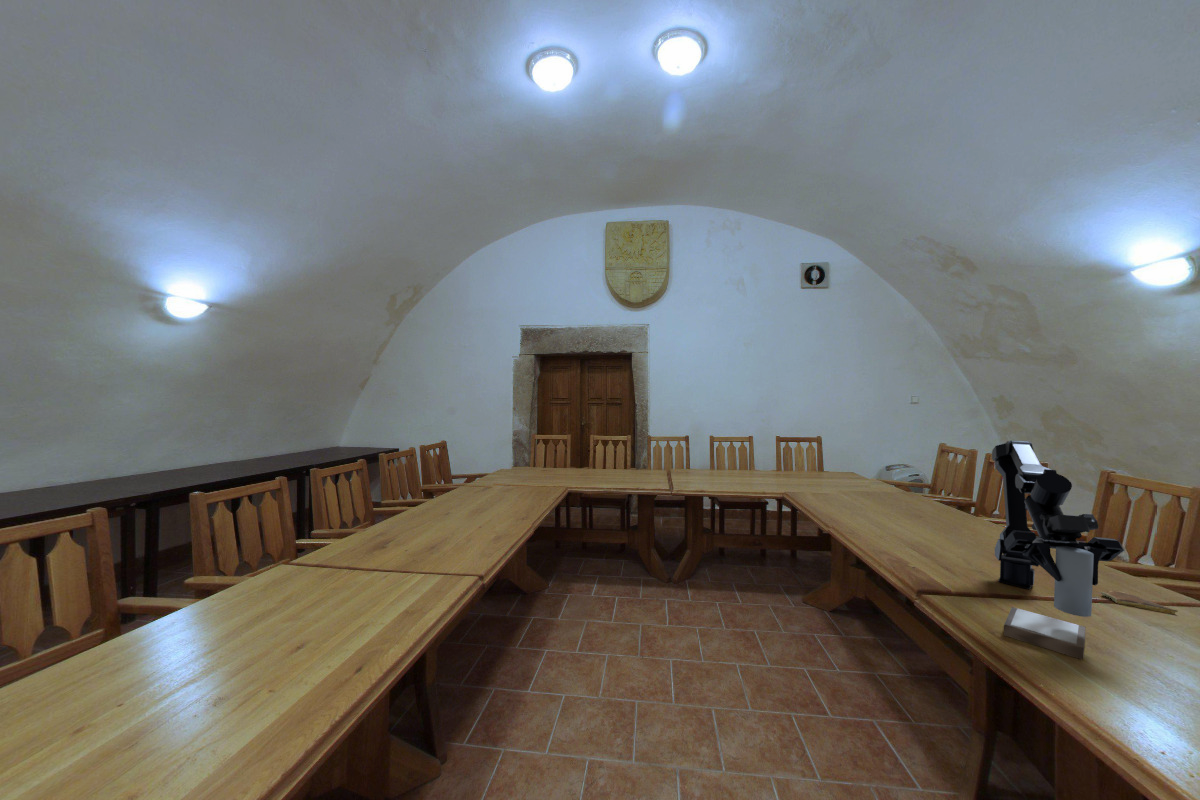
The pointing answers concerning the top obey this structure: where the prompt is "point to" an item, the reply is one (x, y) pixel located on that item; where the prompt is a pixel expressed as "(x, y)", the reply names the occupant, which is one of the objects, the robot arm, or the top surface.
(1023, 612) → the plate
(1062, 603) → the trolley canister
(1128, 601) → the shard
